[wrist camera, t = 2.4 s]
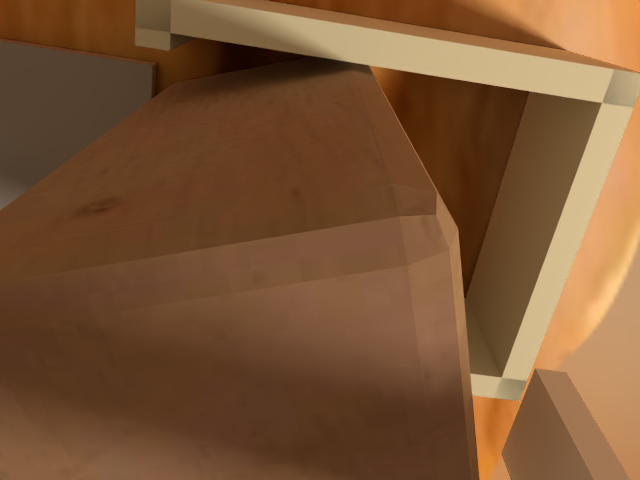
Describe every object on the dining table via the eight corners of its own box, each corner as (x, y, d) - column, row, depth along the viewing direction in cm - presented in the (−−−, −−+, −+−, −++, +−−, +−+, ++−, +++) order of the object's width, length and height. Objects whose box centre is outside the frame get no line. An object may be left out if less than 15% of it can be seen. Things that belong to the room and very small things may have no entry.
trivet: (-55, 239, 30) (-64, 245, 30) (-85, 24, 26) (-97, 26, 25) (150, 266, 31) (146, 273, 30) (156, 62, 27) (152, 65, 26)
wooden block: (159, 82, 27) (-168, 300, 9) (365, 43, 26) (468, 194, 8) (212, 264, 31) (65, 664, 13) (392, 235, 30) (499, 616, 12)
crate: (168, 276, 31) (130, 352, 25) (181, -15, 25) (135, -11, 19) (480, 318, 33) (519, 401, 26) (567, 50, 26) (646, 74, 20)
